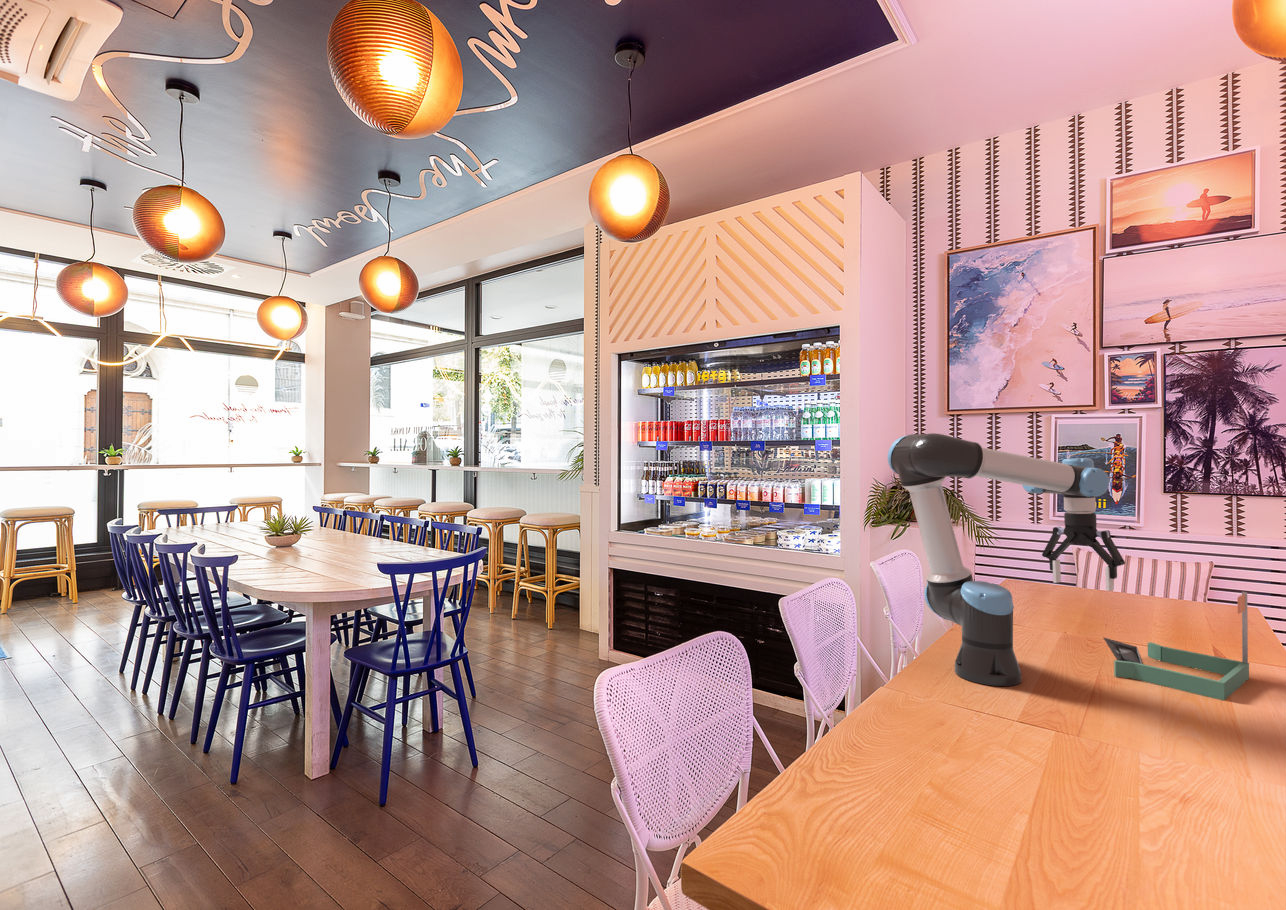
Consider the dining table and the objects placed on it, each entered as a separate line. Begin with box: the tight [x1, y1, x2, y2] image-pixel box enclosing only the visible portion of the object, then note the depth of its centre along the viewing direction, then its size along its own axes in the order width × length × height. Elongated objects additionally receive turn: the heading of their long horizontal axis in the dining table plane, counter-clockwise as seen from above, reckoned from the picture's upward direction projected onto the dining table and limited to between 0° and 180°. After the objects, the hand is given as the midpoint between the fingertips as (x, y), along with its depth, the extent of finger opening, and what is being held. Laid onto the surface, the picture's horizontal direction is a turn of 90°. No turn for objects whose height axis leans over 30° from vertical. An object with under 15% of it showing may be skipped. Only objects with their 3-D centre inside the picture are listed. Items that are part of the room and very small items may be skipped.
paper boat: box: [1102, 637, 1144, 664], centre depth 168 cm, size 12×6×9 cm
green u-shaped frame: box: [1113, 591, 1250, 701], centre depth 159 cm, size 21×27×22 cm
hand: (1082, 586), depth 178 cm, fingers open, 13 cm apart
